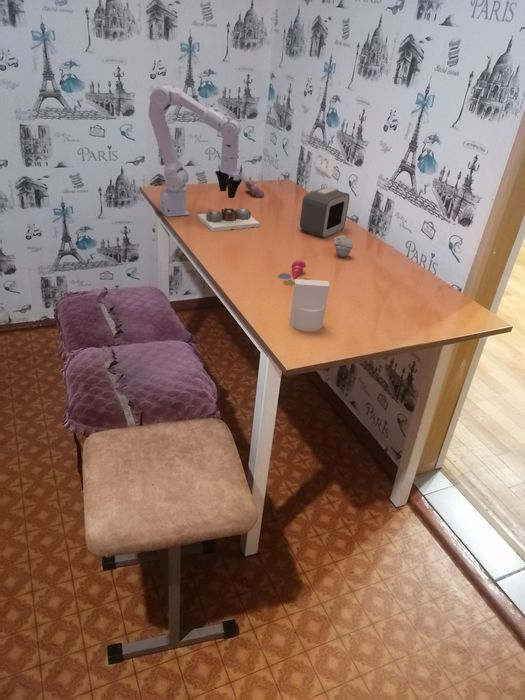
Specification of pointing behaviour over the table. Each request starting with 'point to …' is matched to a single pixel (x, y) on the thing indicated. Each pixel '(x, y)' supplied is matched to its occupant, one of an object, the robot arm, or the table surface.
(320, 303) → the cylinder with rectangular tab
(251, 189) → the pink irregular piece
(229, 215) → the walnut gear
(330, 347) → the table surface
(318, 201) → the alarm clock
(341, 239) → the grey muffin
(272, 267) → the table surface
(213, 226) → the gear board
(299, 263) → the toy pieces
